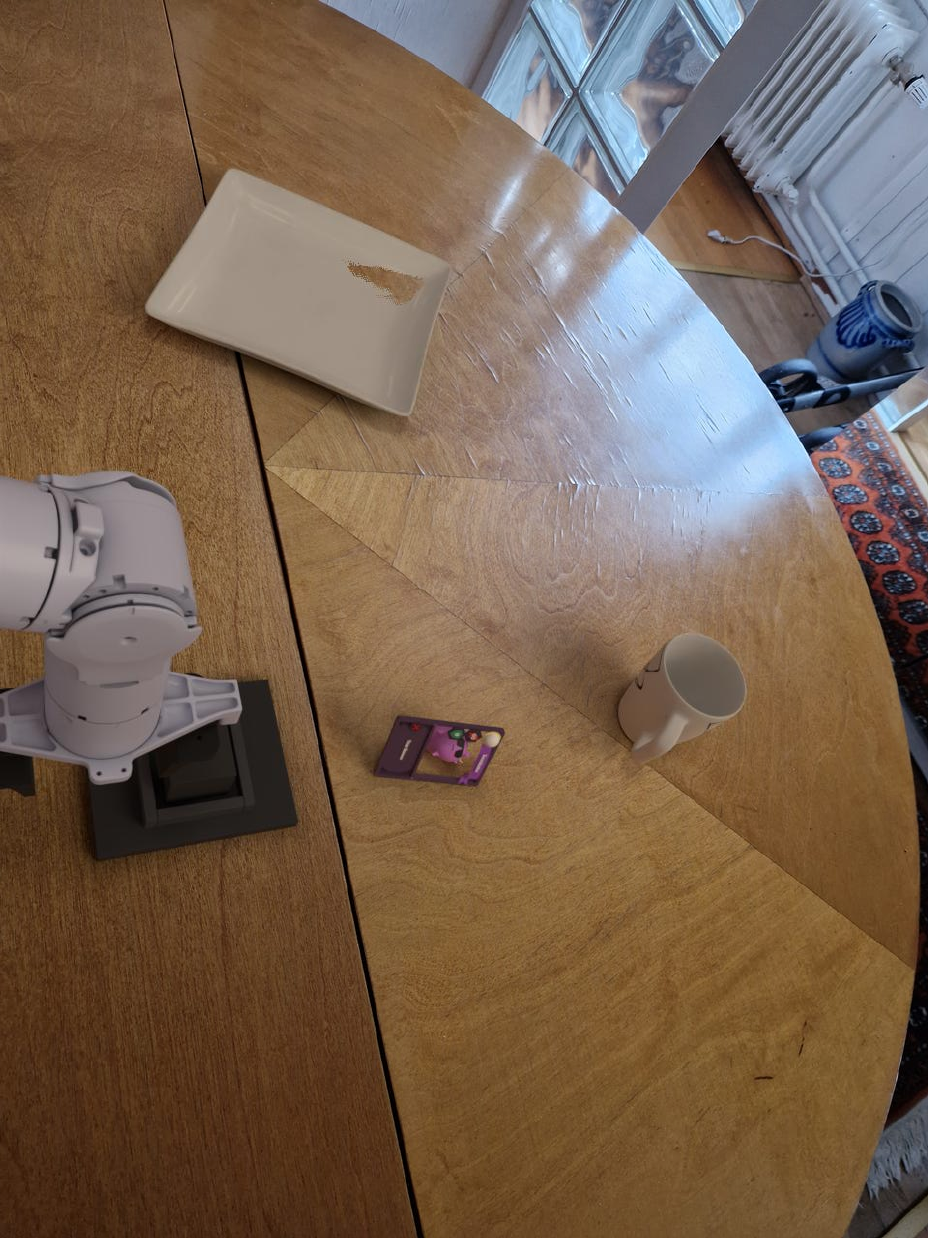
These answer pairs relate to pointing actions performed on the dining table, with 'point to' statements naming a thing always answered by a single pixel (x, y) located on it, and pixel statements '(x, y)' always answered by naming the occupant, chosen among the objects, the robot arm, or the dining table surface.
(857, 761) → the dining table surface
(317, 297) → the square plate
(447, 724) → the game card
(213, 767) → the small block
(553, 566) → the dining table surface
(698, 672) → the mug
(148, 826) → the base pad
